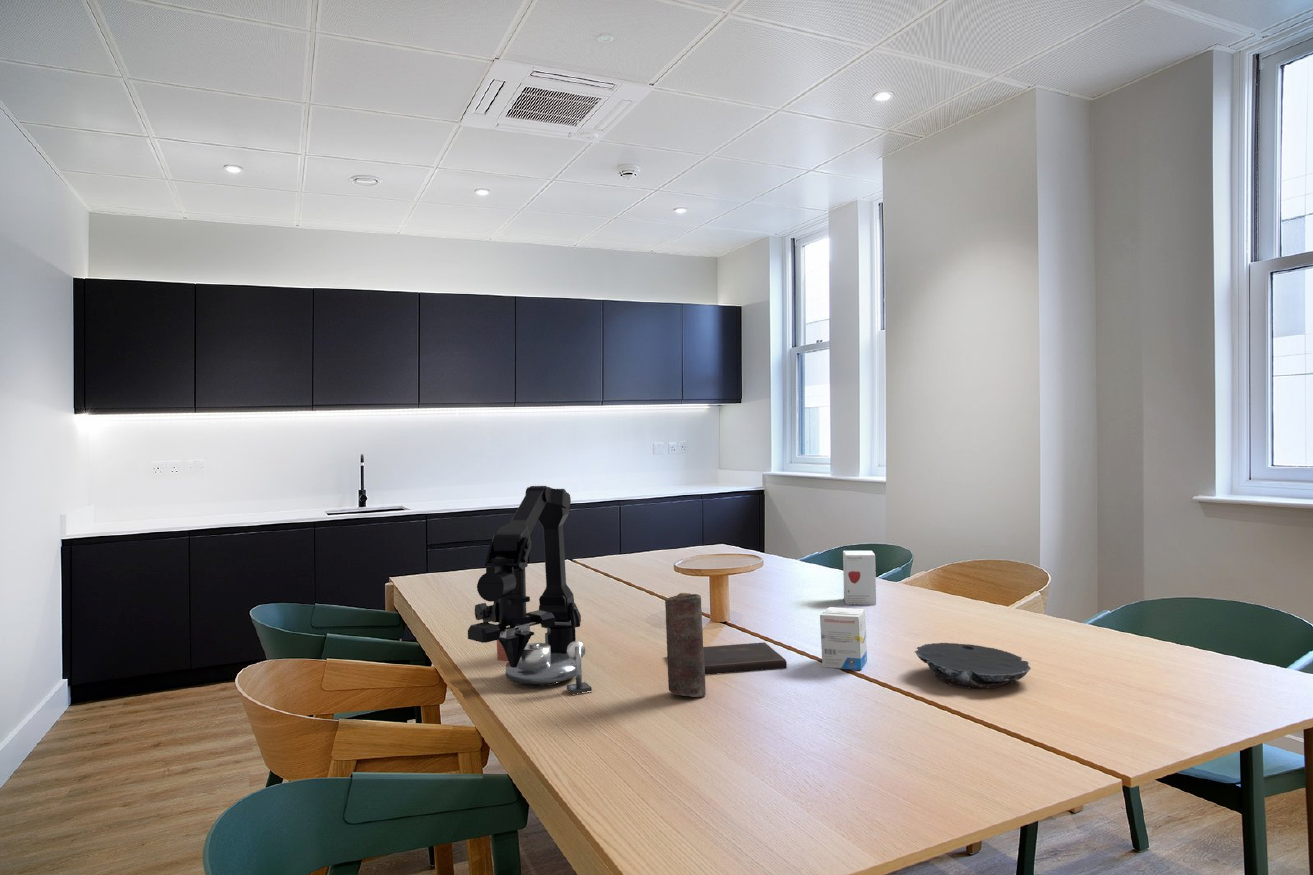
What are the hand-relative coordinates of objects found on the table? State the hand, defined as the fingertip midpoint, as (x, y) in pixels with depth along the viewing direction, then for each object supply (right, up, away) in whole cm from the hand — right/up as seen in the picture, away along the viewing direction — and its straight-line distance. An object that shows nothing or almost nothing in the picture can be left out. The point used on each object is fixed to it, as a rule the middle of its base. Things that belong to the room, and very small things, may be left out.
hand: (513, 667), depth 165 cm
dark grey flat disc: (+95, -2, -2) cm, 95 cm away
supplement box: (+91, -2, +74) cm, 117 cm away
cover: (+4, -1, +4) cm, 5 cm away
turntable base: (+5, -4, +6) cm, 9 cm away
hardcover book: (+46, -4, +14) cm, 48 cm away
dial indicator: (+13, -4, -2) cm, 14 cm away
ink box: (+71, -2, +10) cm, 72 cm away
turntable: (+5, -3, +6) cm, 8 cm away
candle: (+36, -3, -8) cm, 37 cm away
